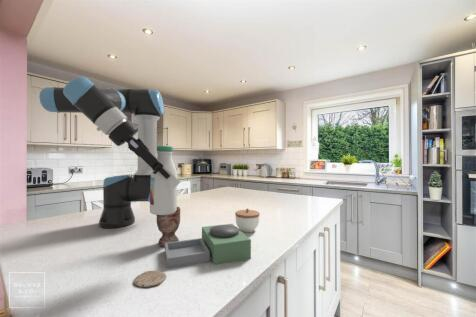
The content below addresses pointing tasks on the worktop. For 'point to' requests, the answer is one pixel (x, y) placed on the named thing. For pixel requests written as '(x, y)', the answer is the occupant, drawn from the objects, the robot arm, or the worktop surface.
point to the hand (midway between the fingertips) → (175, 183)
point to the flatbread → (149, 278)
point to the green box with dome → (226, 243)
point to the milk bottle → (163, 185)
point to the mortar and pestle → (168, 227)
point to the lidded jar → (247, 220)
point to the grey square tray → (186, 252)
